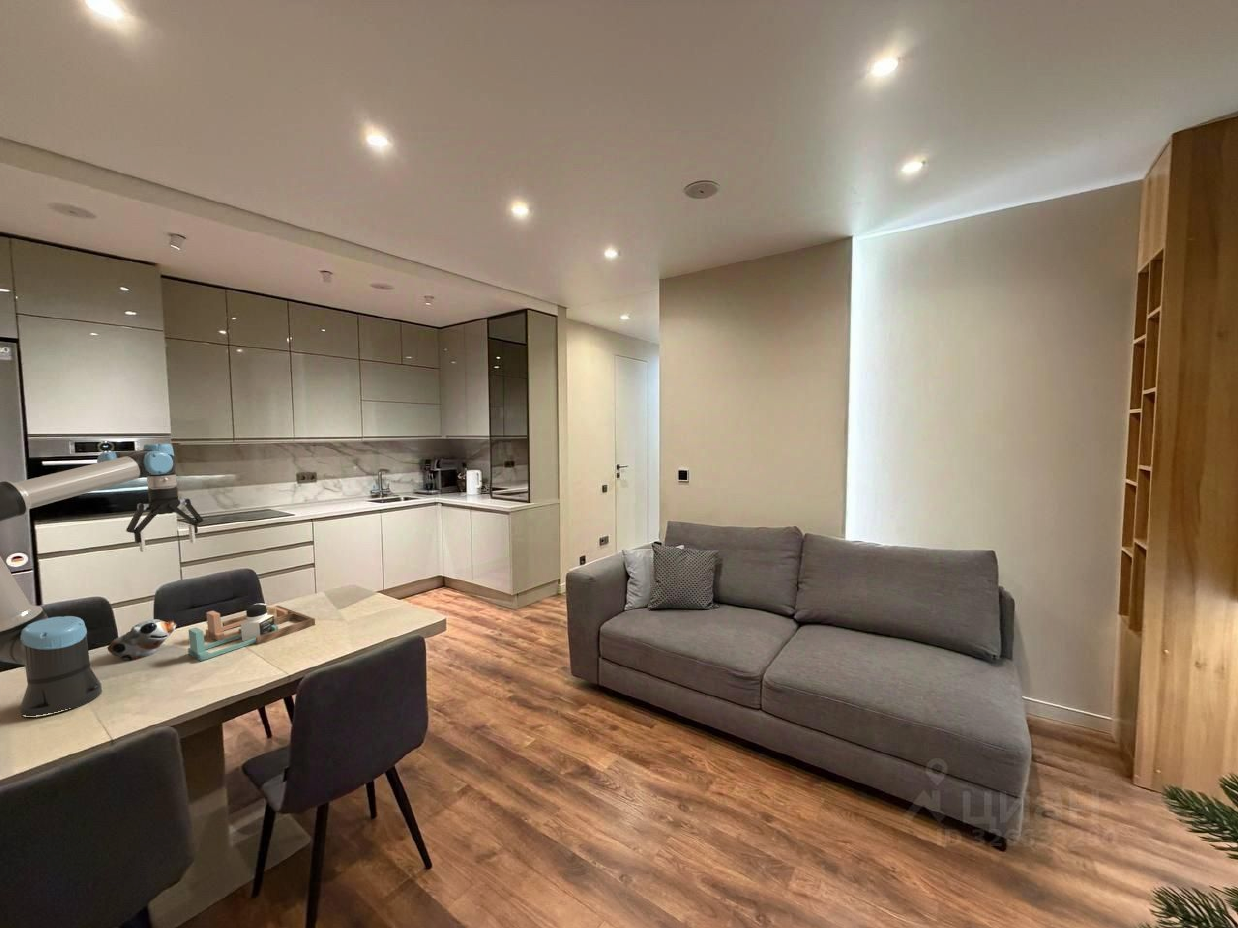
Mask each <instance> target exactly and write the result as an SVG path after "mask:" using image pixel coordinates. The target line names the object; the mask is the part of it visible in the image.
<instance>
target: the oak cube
mask: <svg viewBox="0 0 1238 928" xmlns="http://www.w3.org/2000/svg"><path fill="white" fill-rule="evenodd" d="M274 607H275V606H267V615H274V618H276V617H277V613H276V608H274Z"/></svg>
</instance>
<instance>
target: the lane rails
mask: <svg viewBox="0 0 1238 928" xmlns="http://www.w3.org/2000/svg"><path fill="white" fill-rule="evenodd" d="M274 607H278V608H281V609H283V610H286V611H288V614H285V615H282V616H279V617H276V618H274V625H276V626H278V625H281V624H284V623H287V622H289V621H293V620H295V621H297V622H296V623H294V624H290V625H288V626H284V627H282V628H278V630H275V631H272V632H269V633H266V634H263V635H260V636H257V637H256V642H255V644H256V645H262V644H265V643H268V642H270V641H273V640H276V639H278V638H282V637H284V636H287V635H290V634H293V633H296V632H299V631H301V630H304V629H308V628H311V627H313V626H315V625H316V618H314V617H312V616H309V615H306V614H303V613H300V612H298V611H294V610H293V609H289V608H287V607H284V606H282V605H274ZM246 619H247V615H246V614H245V615H242V616H238V617H236V618H235V617H234V618H231V619H228V620H224V621H221V625H222V627H223V626H227V625H230V624H233V623H236V622H240V621H243V620H246ZM238 630H239V634H241V628H238Z"/></svg>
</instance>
